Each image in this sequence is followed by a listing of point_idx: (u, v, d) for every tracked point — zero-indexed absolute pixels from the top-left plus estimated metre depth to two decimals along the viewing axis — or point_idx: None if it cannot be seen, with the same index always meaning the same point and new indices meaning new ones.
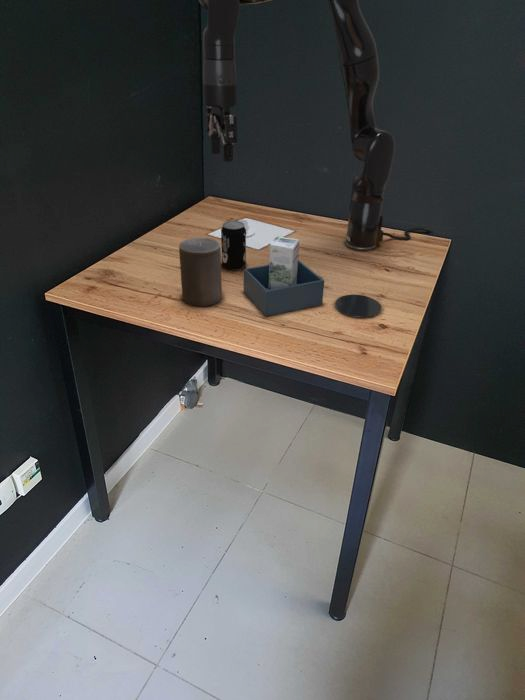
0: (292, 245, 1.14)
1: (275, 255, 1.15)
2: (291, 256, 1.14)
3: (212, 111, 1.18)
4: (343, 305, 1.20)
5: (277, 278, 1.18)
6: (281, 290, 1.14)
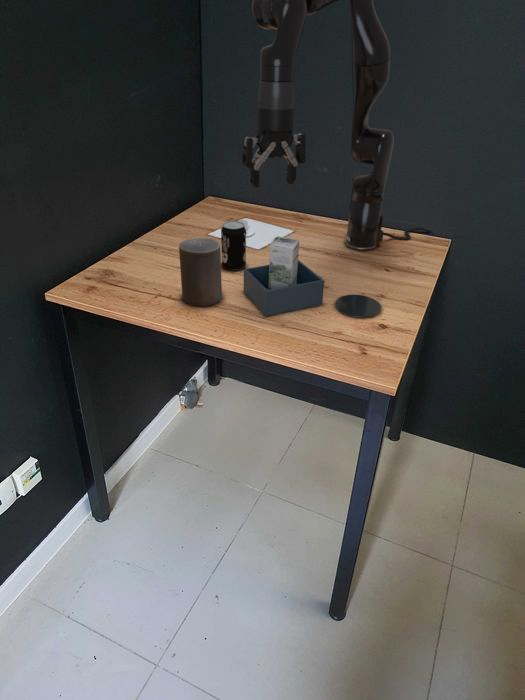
0: (292, 245, 1.14)
1: (275, 255, 1.15)
2: (291, 256, 1.14)
3: None
4: (343, 305, 1.20)
5: (277, 278, 1.18)
6: (281, 290, 1.14)
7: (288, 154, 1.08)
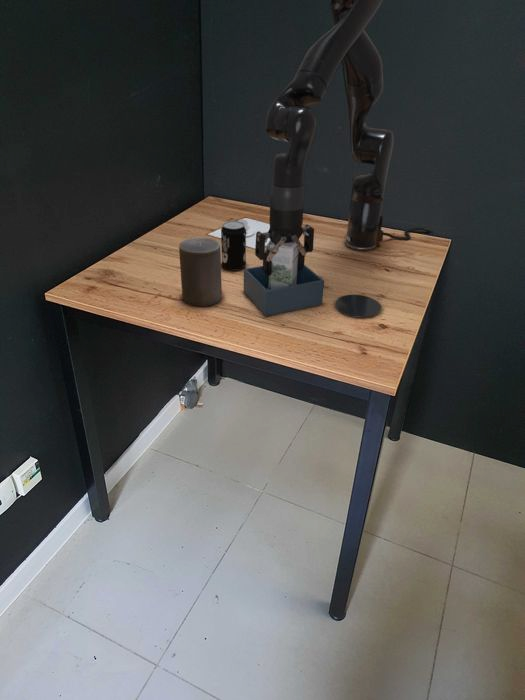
0: (292, 245, 1.14)
1: (275, 255, 1.15)
2: (291, 256, 1.14)
3: None
4: (343, 305, 1.20)
5: (277, 278, 1.18)
6: (281, 290, 1.14)
7: (297, 245, 1.16)
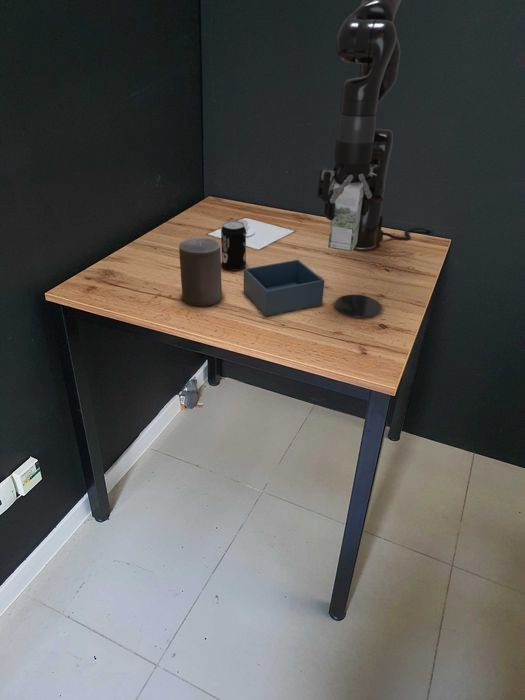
0: (359, 185, 1.04)
1: (339, 196, 1.05)
2: (357, 197, 1.04)
3: None
4: (343, 305, 1.20)
5: (339, 223, 1.08)
6: (281, 290, 1.14)
7: (364, 186, 1.06)
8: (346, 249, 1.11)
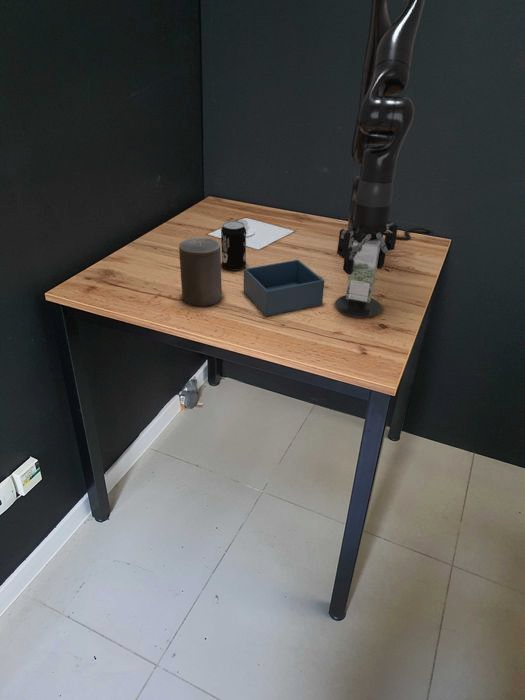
0: (377, 243, 1.10)
1: (358, 253, 1.11)
2: (375, 254, 1.10)
3: None
4: (343, 305, 1.20)
5: (357, 277, 1.14)
6: (281, 290, 1.14)
7: (380, 243, 1.12)
8: (363, 301, 1.17)
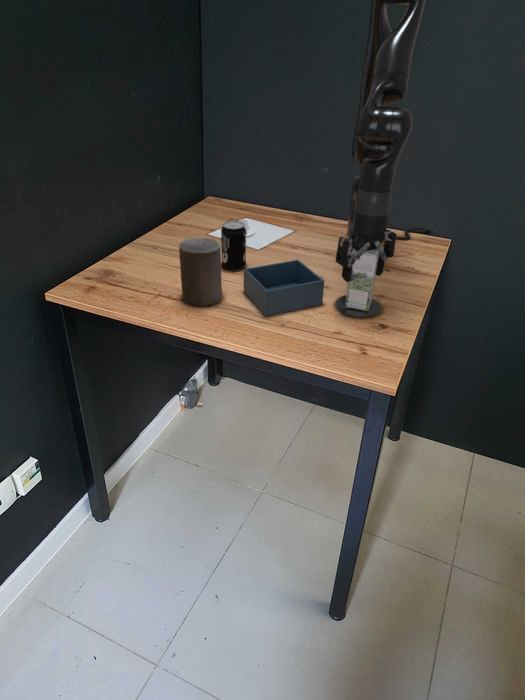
0: (375, 253, 1.11)
1: (357, 263, 1.12)
2: (374, 264, 1.11)
3: None
4: (343, 305, 1.20)
5: (356, 286, 1.15)
6: (281, 290, 1.14)
7: (379, 251, 1.13)
8: (362, 309, 1.18)
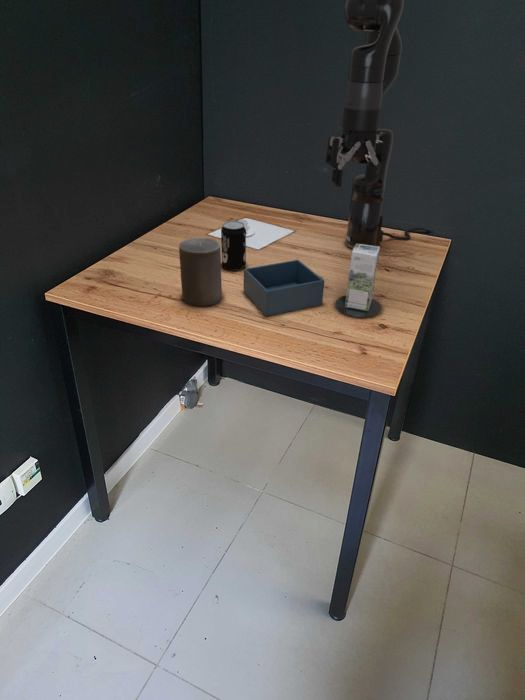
0: (375, 253, 1.11)
1: (357, 263, 1.12)
2: (374, 264, 1.11)
3: None
4: (343, 305, 1.20)
5: (356, 286, 1.15)
6: (281, 290, 1.14)
7: (370, 153, 1.09)
8: (362, 309, 1.18)
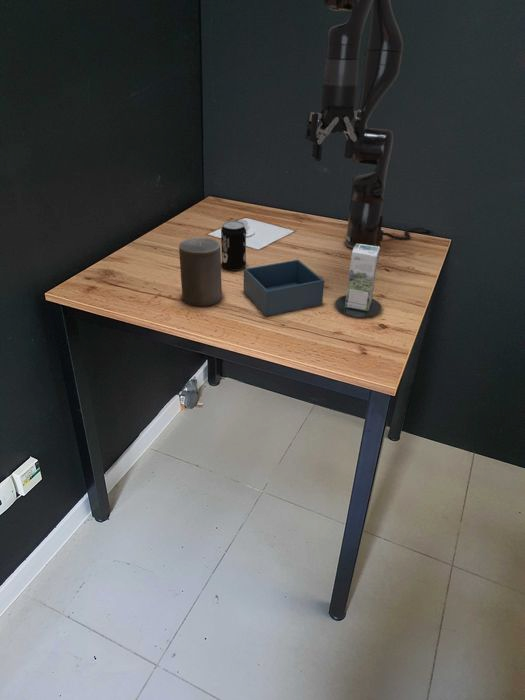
0: (375, 253, 1.11)
1: (357, 263, 1.12)
2: (374, 264, 1.11)
3: None
4: (343, 305, 1.20)
5: (356, 286, 1.15)
6: (281, 290, 1.14)
7: (349, 129, 1.15)
8: (362, 309, 1.18)
